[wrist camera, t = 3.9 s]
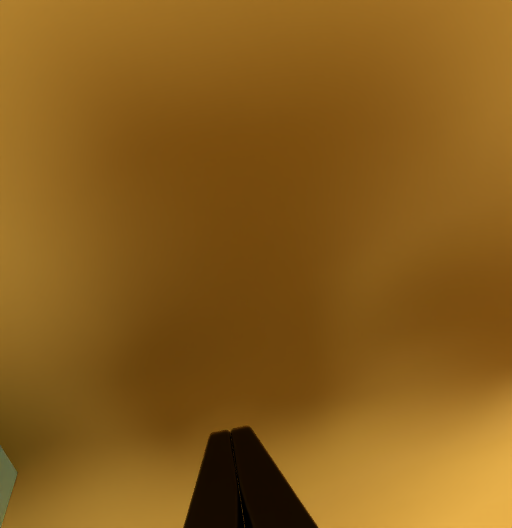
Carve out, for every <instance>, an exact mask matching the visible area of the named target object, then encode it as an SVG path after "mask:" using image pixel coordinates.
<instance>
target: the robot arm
mask: <svg viewBox="0 0 512 528" xmlns="http://www.w3.org/2000/svg"><path fill="white" fill-rule="evenodd" d="M231 439H232V441H231ZM232 446H233V447H232ZM233 452H234V454H233ZM234 459H235V460H234ZM235 465H236V467H235ZM236 472H237V473H236ZM237 478H238V480H237ZM238 485H239V486H238ZM239 491H240V493H239ZM240 498H241V499H240ZM241 504H242V506H241ZM242 511H243V512H242ZM243 517H244V519H243ZM244 524H245V526H244ZM183 528H318V526H317V525H316V523H315V522H314V520H313V519H312V517H311V516H310V514H309V513H308V511H307V510H306V508H305V507H304V505H303V504H302V503H301V501H300V500H299V498H298V497H297V495H296V494H295V492H294V491H293V489H292V488H291V486H290V485H289V483H288V482H287V480H286V479H285V477H284V476H283V474H282V473H281V471H280V470H279V468H278V467H277V465H276V464H275V462H274V461H273V460H272V458H271V457H270V455H269V454H268V452H267V451H266V449H265V448H264V446H263V445H262V443H261V442H260V440H259V439H258V437H257V436H256V434H255V433H254V431H253V430H252V429H251V427H249V426H243V427H238V428H233V429H232V430H231V434H230V431H229V430H222V431H217V432H213V433H211V434H210V436H209V439H208V442H207V446H206V449H205V453H204V456H203V460H202V464H201V467H200V471H199V474H198V478H197V481H196V485H195V488H194V492H193V495H192V499H191V502H190V506H189V509H188V513H187V516H186V520H185V524H184V527H183Z"/></svg>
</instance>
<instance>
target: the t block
mask: <svg viewBox="0 0 512 528" xmlns="http://www.w3.org/2000/svg"><path fill="white" fill-rule="evenodd" d="M16 477H17V471H16V469H15V468H14V466H13V465H12V463H11V461H10V460H9V458H8V457H7V455H6V454H5V452H4V450H3V449H2V447H1V446H0V528H1V526H2V522H3V519H4V516H5V513H6V509H7V506H8V503H9V499H10V496H11V493H12V490H13V486H14V483H15V480H16Z"/></svg>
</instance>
